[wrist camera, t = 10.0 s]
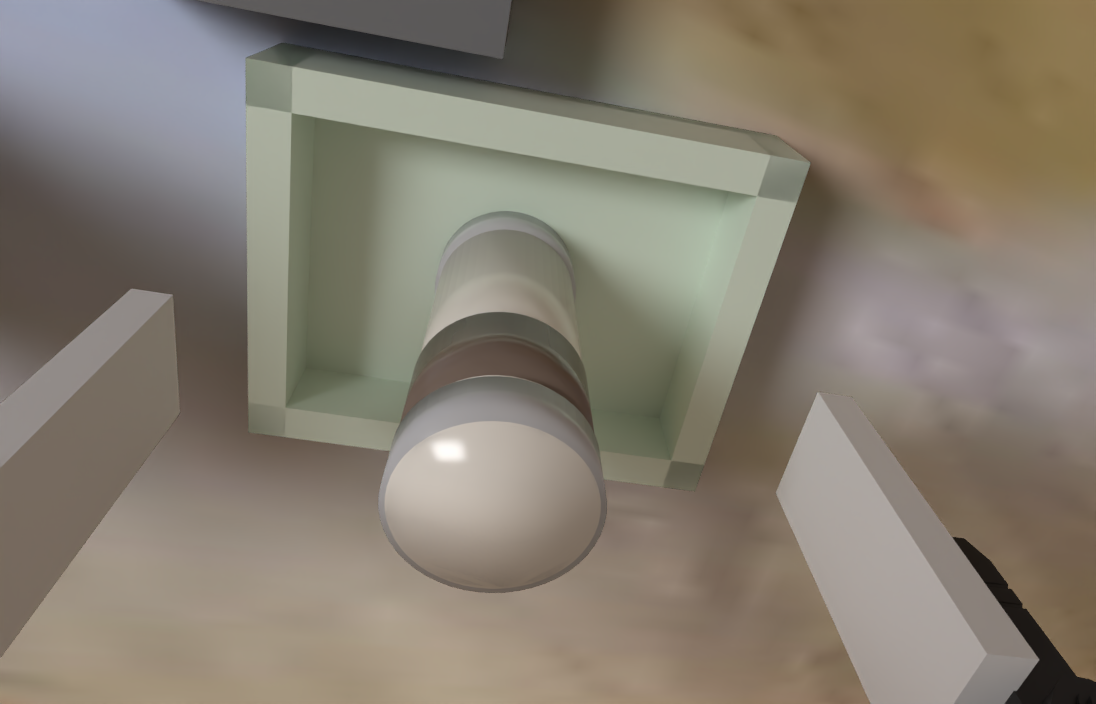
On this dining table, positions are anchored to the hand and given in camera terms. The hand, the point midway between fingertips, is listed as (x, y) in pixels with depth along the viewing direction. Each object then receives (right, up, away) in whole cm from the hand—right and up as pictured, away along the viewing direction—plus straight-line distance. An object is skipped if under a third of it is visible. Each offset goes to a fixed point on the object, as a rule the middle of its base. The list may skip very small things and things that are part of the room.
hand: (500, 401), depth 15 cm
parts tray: (0, +4, +6) cm, 7 cm away
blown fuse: (0, +3, +6) cm, 7 cm away
